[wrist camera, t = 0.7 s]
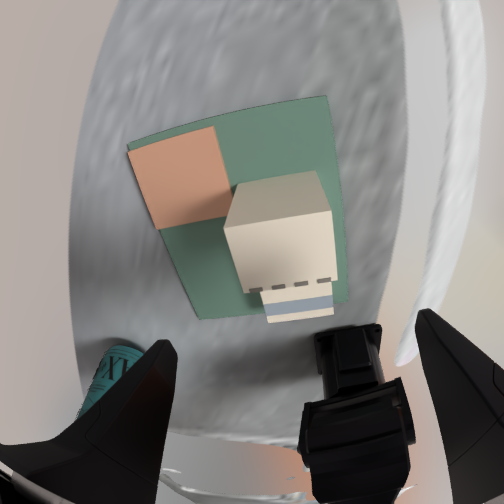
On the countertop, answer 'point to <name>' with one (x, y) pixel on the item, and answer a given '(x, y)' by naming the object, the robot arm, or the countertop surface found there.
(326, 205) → the stub
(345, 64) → the countertop surface
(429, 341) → the robot arm
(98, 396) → the beverage bottle
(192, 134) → the coaster
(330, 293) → the spiral notebook
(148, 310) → the countertop surface
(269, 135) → the mat
